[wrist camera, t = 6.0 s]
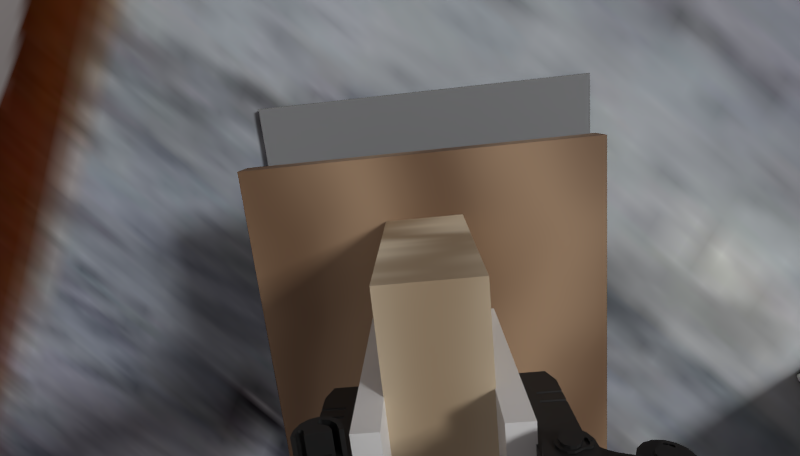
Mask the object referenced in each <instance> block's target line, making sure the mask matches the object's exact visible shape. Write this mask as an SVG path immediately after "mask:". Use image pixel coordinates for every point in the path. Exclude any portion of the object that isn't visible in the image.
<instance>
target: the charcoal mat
mask: <svg viewBox="0 0 800 456" xmlns="http://www.w3.org/2000/svg"><path fill="white" fill-rule="evenodd" d="M258 110H259V116H260V121H261V127H262V133H263V138H264V144H265V150H266V156H267V161H268V166H273V165H283V164H293V163H303V162H313V161H323V160H333V159H343V158H352V157H362V156H372V155H382V154H392V153H402V152H412V151H422V150H432V149H441V148H451V147H461V146H471V145H481V144H491V143H501V142H511V141H520V140H530V139H540V138H550V137H560V136H570V135H580V134H590V73H585V74H576V75H567V76H558V77H549V78H540V79H531V80H521V81H512V82H503V83H494V84H485V85H476V86H467V87H458V88H449V89H440V90H431V91H422V92H412V93H403V94H394V95H385V96H376V97H367V98H358V99H349V100H340V101H331V102H322V103H313V104H303V105H294V106H285V107H276V108H267V109H258Z"/></svg>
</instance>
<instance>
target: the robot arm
mask: <svg viewBox="0 0 800 456" xmlns="http://www.w3.org/2000/svg"><path fill="white" fill-rule="evenodd" d="M491 315H492V331H493V347H494V363H495V379H496V389H495V393H496V409H497V424H498V440H499V455H500V456H697V455H695V454H694V453H693V452H692V451H690V450H689V449H688V448H686V447H684V446H682V445H679V444H677V443H674V442H670V441H666V440H650V441H647V442H643V443H642V444H641V445H640V446H639V447H638V448H637V452H636V455H631V454H625V453H618V452H614V451H610V450H607V449H604V448H602V447H599V445H598V443H597V442H596V440H595V438H594V437H592V436H591V435H590V434H588V433H587V432H585V431H582V429H581V427H580V425H579V423H578V421H577V419H576V417H575V415H574V413H573V411H572V409H571V407H570V405H569V403H568V402H567V401H566V398H565V396H564V394H563V392H562V390H561V388H560V386H559V384H558V382H557V380H556V379H555V378H553V377H552V376H551V375H549V374H548V373H547V372H546V371H539V372H525V373H518V370H517V367H516V365H515V362H514V359H513V357H512V354H511V352H510V349H509V346H508V344H507V341H506V339H505V336H504V333H503V331H502V328H501V326H500V323H499V320H498V318H497V315H496V312H495V310H494V308H492V309H491ZM290 441H291V446H292V451H293V456H391V448H390V440H389V432H388V424H387V417H386V409H385V401H384V397H383V390H382V382H381V374H380V367H379V359H378V351H377V343H376V335H375V327H374V319H372V324H371V329H370V334H369V339H368V343H367V348H366V353H365V358H364V363H363V368H362V373H361V378H360V383H359V386H357V387H344V388H334V389H333V391H332V392H331V393H330V394H329V395H328V396H327V397H326V398H325V401H324V404H323V407H322V411H321V414H320V417H316V418H312V419H308V420H307V421H305V422H303V423H301V424H299V425H298V426H297V427H296V428H295V429H294V430H293V432H292V434H291V436H290Z"/></svg>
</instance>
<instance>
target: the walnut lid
mask: <svg viewBox="0 0 800 456" xmlns="http://www.w3.org/2000/svg"><path fill="white" fill-rule="evenodd" d="M237 173H238V178H239V183H240V189H241V194H242V200H243V205H244V210H245V216H246V221H247V227H248V232H249V237H250V243H251V248H252V254H253V259H254V264H255V270H256V275H257V281H258V286H259V291H260V297H261V302H262V308H263V313H264V318H265V324H266V329H267V335H268V340H269V345H270V351H271V356H272V362H273V367H274V372H275V378H276V383H277V389H278V394H279V399H280V405H281V410H282V416H283V421H284V426H285V432H286V437H287V443H288V448H289V453H290V456H293V451H292V446H291V441H290V436H291V434H292V432H293V430H294V429H295V428H296V427H297V426H298V425H299V424H301V423H303V422H305V421H307V420H308V419H312V418H316V417H320V414H321V411H322V407H323V404H324V401H325V398H326V397H327V396H328V395H329V394H330V393H331V392H332V391H333V389H334V388H344V387H357V386H359V383H360V378H361V373H362V368H363V363H364V358H365V353H366V348H367V343H368V339H369V334H370V329H371V324H372V319H374V327H375V335H376V343H377V351H378V359H379V367H380V374H381V382H382V390H383V397H384V401H385V409H386V417H387V424H388V432H389V440H390V448H391V456H500V455H499V440H498V424H497V409H496V393H495V389H496V379H495V363H494V347H493V331H492V315H491V309H492V308H494V310H495V312H496V315H497V318H498V320H499V323H500V326H501V328H502V331H503V333H504V336H505V339H506V341H507V344H508V346H509V349H510V352H511V354H512V357H513V359H514V362H515V365H516V367H517V370H518V373H525V372H539V371H546V372H547V373H548V374H549V375H551V376H552V377H553V378H555V379H556V380H557V382H558V384H559V386H560V388H561V390H562V392H563V394H564V396H565V398H566V401H567V402H568V403H569V405H570V407H571V409H572V411H573V413H574V415H575V417H576V419H577V421H578V423H579V425H580V427H581V429H582V431H585V432H587V433H588V434H590V435H591V436H592V437H594V438H595V440H596V442H597V443H598V445H599V447H602V448H604V449H607V135H605V134H599V133H590V134H580V135H570V136H560V137H550V138H540V139H530V140H520V141H511V142H501V143H491V144H481V145H471V146H461V147H451V148H441V149H432V150H422V151H412V152H402V153H392V154H382V155H372V156H362V157H352V158H343V159H333V160H323V161H313V162H303V163H293V164H283V165H273V166H264V167H254V168H247V169H244V170H241V171H239V172H237Z"/></svg>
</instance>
